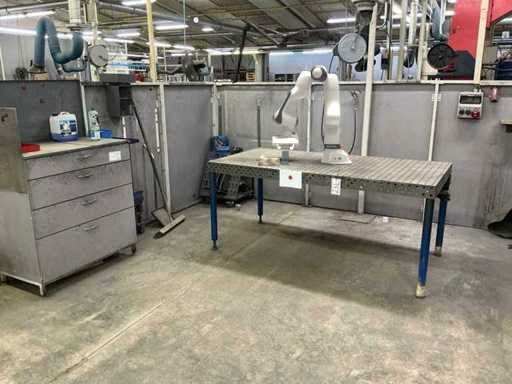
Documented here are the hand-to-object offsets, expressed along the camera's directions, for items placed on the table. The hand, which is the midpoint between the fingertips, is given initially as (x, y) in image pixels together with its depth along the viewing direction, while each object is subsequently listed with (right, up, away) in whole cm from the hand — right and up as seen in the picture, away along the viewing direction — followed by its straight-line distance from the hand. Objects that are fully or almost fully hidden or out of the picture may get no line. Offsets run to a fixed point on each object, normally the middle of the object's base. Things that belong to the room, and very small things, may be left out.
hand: (285, 149), depth 296 cm
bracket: (0, -11, -5) cm, 12 cm away
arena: (-12, -11, -6) cm, 17 cm away
